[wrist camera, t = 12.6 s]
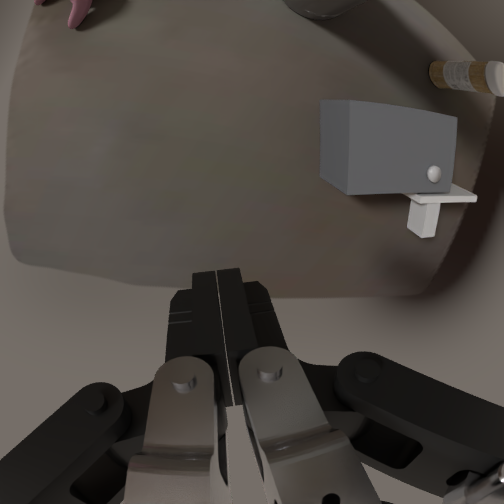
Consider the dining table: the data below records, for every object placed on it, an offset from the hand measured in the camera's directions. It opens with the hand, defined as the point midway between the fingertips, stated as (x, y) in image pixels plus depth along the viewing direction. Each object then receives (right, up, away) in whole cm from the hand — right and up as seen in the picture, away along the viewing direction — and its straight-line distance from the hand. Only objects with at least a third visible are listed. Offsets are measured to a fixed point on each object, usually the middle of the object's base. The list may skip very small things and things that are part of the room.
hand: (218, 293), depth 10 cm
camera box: (+17, +16, +25) cm, 35 cm away
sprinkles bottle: (+29, +28, +22) cm, 45 cm away
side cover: (+26, +10, +30) cm, 41 cm away
